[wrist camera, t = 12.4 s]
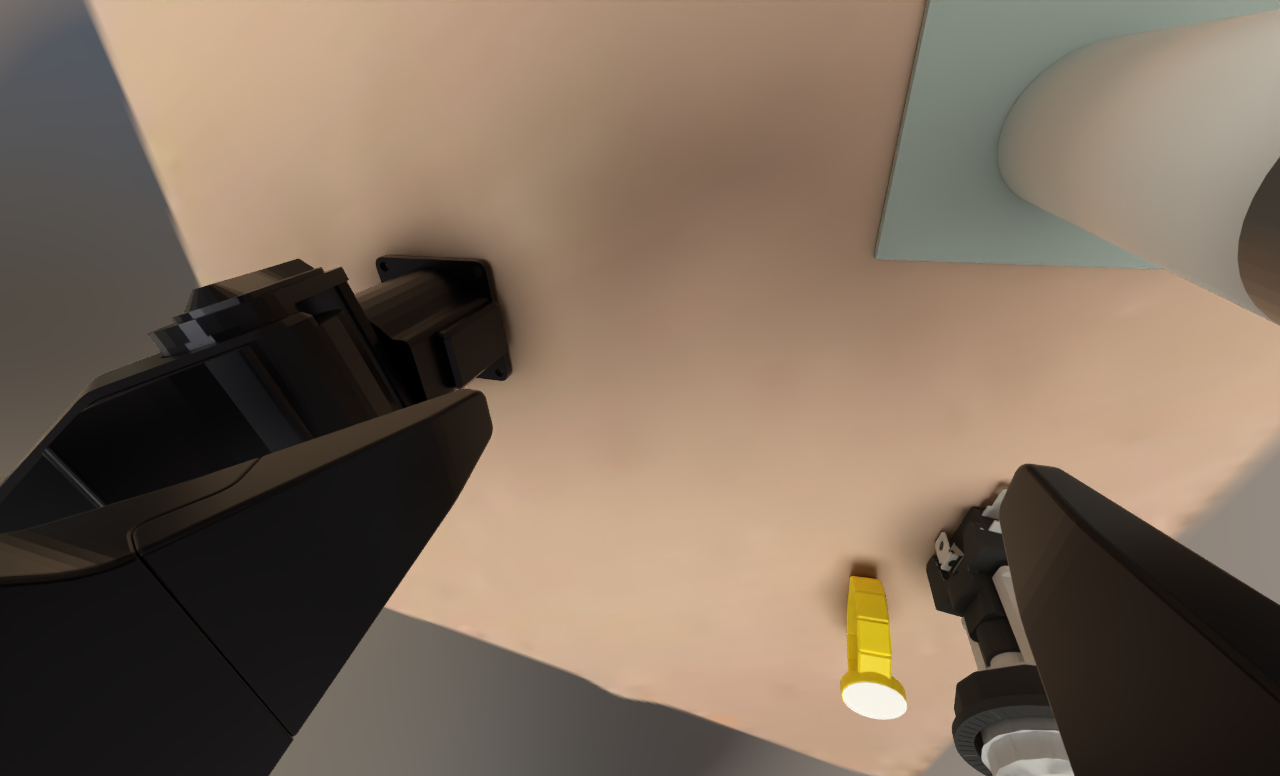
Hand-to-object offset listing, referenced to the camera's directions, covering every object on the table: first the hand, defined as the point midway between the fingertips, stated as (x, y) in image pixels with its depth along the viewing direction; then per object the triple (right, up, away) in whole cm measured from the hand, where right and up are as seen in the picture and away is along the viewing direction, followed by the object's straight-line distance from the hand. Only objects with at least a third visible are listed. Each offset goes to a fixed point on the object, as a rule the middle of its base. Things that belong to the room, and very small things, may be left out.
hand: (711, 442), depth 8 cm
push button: (+15, -6, +14) cm, 22 cm away
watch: (+11, -11, +19) cm, 24 cm away
